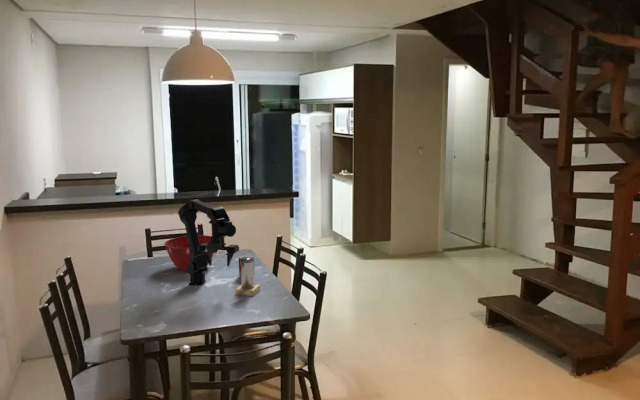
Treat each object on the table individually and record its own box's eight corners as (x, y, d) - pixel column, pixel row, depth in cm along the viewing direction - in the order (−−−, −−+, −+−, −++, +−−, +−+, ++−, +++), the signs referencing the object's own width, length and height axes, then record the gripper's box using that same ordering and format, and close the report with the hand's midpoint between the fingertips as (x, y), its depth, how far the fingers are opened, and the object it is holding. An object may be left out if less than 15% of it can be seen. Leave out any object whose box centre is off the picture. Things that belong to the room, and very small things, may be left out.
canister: (241, 289, 244) (240, 260, 242) (241, 285, 250) (240, 257, 248) (254, 288, 245) (253, 259, 243) (254, 284, 251) (253, 256, 249)
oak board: (235, 294, 245) (235, 289, 245) (243, 288, 254) (243, 283, 253) (253, 295, 243) (253, 290, 242) (260, 289, 251) (260, 284, 251)
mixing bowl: (164, 277, 272) (162, 248, 269) (167, 262, 299) (165, 236, 296) (219, 273, 278) (218, 245, 276) (217, 259, 305) (215, 233, 303)
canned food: (251, 279, 267) (251, 258, 265) (237, 278, 269) (236, 258, 267) (256, 274, 275) (255, 254, 273) (242, 274, 276) (241, 254, 274)
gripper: (191, 236, 239) (193, 269, 241) (229, 238, 234) (230, 271, 236) (203, 231, 249) (204, 262, 252) (239, 233, 244) (240, 265, 247)
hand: (219, 265), depth 246 cm, fingers open, 9 cm apart
